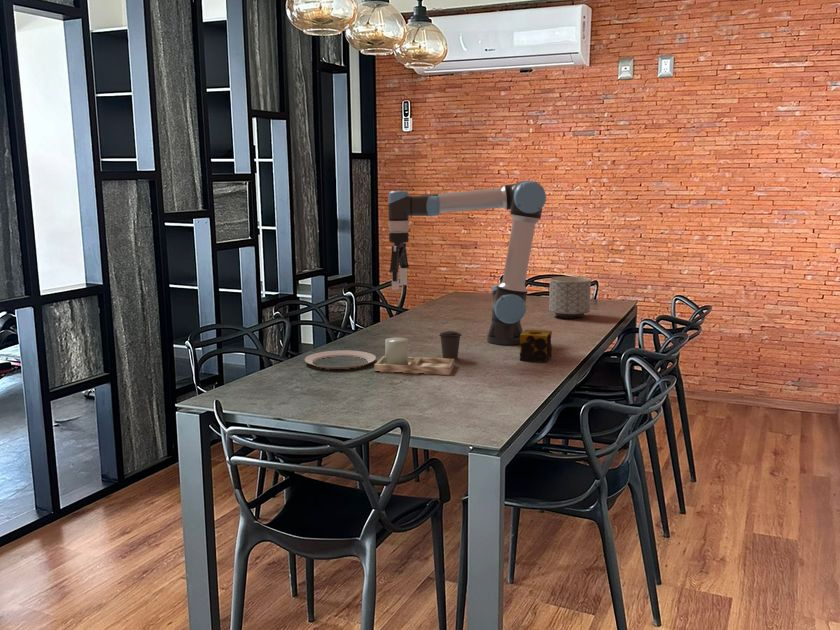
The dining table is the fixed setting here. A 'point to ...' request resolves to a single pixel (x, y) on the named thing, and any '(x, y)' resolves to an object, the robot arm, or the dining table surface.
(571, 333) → the dining table surface
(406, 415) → the dining table surface
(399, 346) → the pale grey-green cylinder
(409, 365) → the birch caddy
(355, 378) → the dining table surface
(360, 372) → the dining table surface
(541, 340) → the yellow die
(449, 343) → the coffee cup
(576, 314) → the planter
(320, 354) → the plate
